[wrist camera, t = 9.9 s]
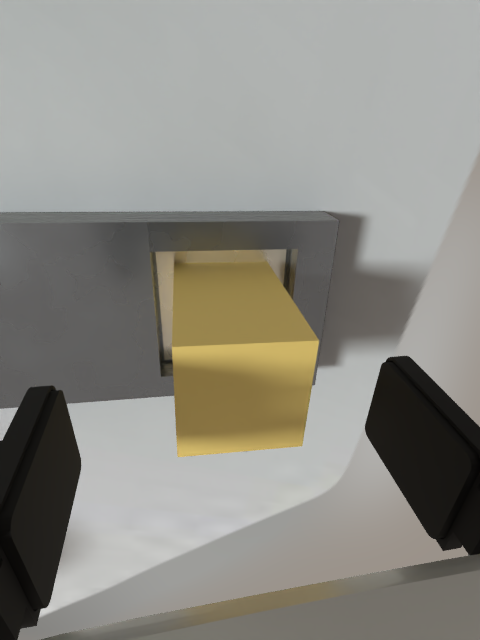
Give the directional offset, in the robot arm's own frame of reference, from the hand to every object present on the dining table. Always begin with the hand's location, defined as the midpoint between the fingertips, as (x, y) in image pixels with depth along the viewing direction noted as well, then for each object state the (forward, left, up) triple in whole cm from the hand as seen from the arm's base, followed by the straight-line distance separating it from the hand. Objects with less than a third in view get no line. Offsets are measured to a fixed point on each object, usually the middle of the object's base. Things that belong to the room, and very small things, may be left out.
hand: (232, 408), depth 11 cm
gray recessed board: (+1, -6, -9) cm, 11 cm away
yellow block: (+1, +1, -9) cm, 8 cm away
